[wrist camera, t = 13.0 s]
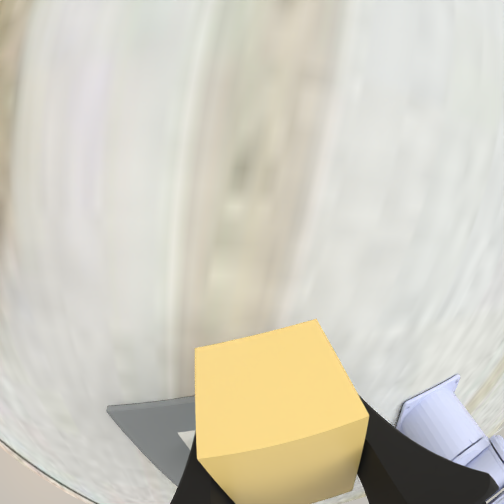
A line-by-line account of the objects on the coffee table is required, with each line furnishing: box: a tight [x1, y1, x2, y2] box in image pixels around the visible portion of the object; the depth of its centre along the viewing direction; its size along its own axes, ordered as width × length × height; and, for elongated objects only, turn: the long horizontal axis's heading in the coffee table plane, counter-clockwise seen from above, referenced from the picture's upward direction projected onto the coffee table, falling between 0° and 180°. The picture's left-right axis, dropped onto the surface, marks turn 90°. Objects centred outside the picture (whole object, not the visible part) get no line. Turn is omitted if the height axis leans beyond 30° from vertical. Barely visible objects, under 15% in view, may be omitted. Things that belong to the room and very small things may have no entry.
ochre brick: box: [195, 319, 369, 504], centre depth 10 cm, size 6×4×4 cm
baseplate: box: [107, 396, 196, 486], centre depth 23 cm, size 16×16×1 cm
